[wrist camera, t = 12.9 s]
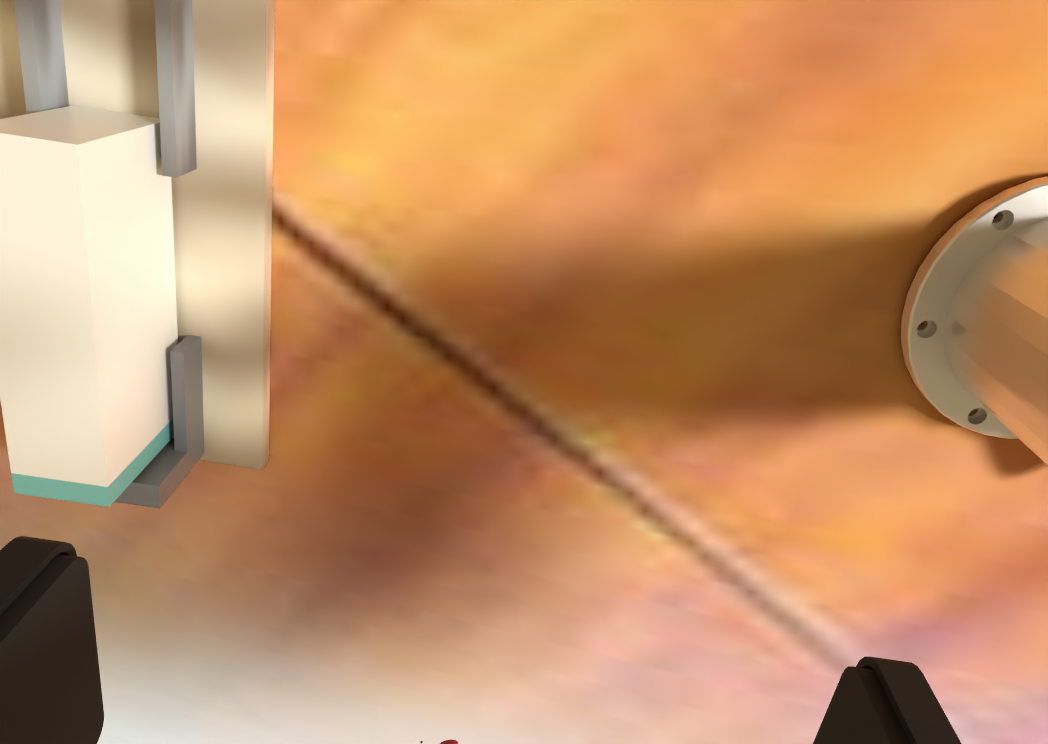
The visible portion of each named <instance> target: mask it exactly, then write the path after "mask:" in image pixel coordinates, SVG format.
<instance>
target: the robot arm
mask: <svg viewBox="0 0 1048 744" xmlns="http://www.w3.org/2000/svg"><path fill="white" fill-rule="evenodd" d="M997 213H998V216H997V218H996V219H994V220H993V218H994V216H995V215H996V214H997ZM923 321H924V322H923ZM922 322H923V324H922V325H921V326H919V327H918V325H920V324H921V323H922ZM901 344H902V350H903V355H904V360H905V364H906V366H907V369H908V371H909V373H910V375H911V377H912V380H913V382H914V384H915V385H916V386H917V387H918V389H919V390H920V391H921V393H922V394H923V395H924V396H925V398H926V399H927V400H928V401H929V402H930V403H931V404H932V405H933V406H934V407H935V408H936V409H937V410H938V411H939V412H940V413H941V414H942V415H944V416H946V417H947V418H949V419H950V420H952V421H953V422H955V423H957V424H958V425H960V426H961V427H964V428H967V429H969V430H972V431H975V432H977V433H980V434H983V435H989V436H995V437H1000V438H1006V439H1020V440H1021V441H1022V442H1023V443H1024V444H1025V445H1026V446H1027V447H1028V448H1029V449H1031V450H1032V451H1033V452H1034V453H1035V454H1036V455H1037V456H1038V457H1039V458H1040V459H1041V460H1042V461H1044V462H1045V463H1046V464H1047V465H1048V176H1046V177H1041V178H1036V179H1033V180H1030V181H1027V182H1025V183H1022V184H1019V185H1017V186H1014V187H1011V188H1009V189H1006V190H1004V191H1002V192H1000V193H999V194H997V195H995V196H993V197H992V198H990V199H988V200H986V201H984V202H983V203H981V204H979V205H978V206H976V207H975V208H974V209H973V210H971V211H970V212H969V213H967V214H966V215H965V216H964V217H962V218H961V219H960V220H959V221H957V222H956V223H955V224H954V225H953V226H952V227H951V228H950V229H949V230H948V231H947V232H946V233H945V234H944V235H943V237H942V238H941V239H940V240H939V241H938V242H937V243H936V244H935V245H934V246H933V248H932V249H931V251H930V252H929V254H928V255H927V257H926V258H925V260H924V261H923V263H922V264H921V266H920V267H919V269H918V271H917V273H916V275H915V278H914V280H913V282H912V284H911V287H910V289H909V291H908V293H907V297H906V302H905V306H904V310H903V314H902V323H901ZM103 721H104V711H103V701H102V692H101V682H100V673H99V663H98V654H97V644H96V635H95V625H94V616H93V606H92V597H91V587H90V578H89V568H88V564H87V561H86V560H85V558H82V557H77V555H76V551H75V548H74V547H73V546H72V544H70V543H66V542H59V541H52V540H45V539H38V538H31V537H24V536H21V537H17V538H14V539H13V540H12V541H10V542H9V543H8V544H7V545H6V546H5V547H4V548H2V549H1V550H0V744H97V742H98V739H99V737H100V734H101V731H102V727H103ZM813 744H961V742H960V740H959V738H958V737H957V735H956V733H955V731H954V729H953V728H952V726H951V724H950V722H949V720H948V718H947V717H946V715H945V713H944V711H943V709H942V708H941V706H940V704H939V702H938V700H937V699H936V697H935V695H934V693H933V691H932V689H931V688H930V686H929V684H928V682H927V680H926V679H925V677H924V675H923V673H922V672H921V670H920V669H919V668H918V666H916V665H915V664H913V663H910V662H903V661H896V660H889V659H882V658H875V657H864V658H862V659H861V660H860V661H859V662H858V664H857V666H856V667H847V668H846V669H845V670H844V672H843V674H842V676H841V678H840V681H839V683H838V685H837V688H836V690H835V692H834V695H833V697H832V700H831V702H830V704H829V707H828V709H827V712H826V714H825V716H824V719H823V721H822V723H821V726H820V728H819V731H818V733H817V735H816V738H815V740H814V743H813Z"/></svg>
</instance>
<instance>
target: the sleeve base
mask: <svg viewBox="0 0 1048 744" xmlns="http://www.w3.org/2000/svg"><path fill="white" fill-rule="evenodd" d="M274 18H275V0H0V119H4V118H9V117H14V116H20V115H25V114H30V113H35V112H41V111H46V110H51V109H56V108H62V107H67V106H72V105H77V106H83V107H90V108H96V109H103V110H109V111H115V112H122V113H128V114H135V115H141V116H148V117H154V118H160V138H161V160H162V176H169V177H171V183H172V207H173V232H174V257H175V281H176V306H177V331H178V344H179V343H180V342H181V341H182V340H183V339H185V338H186V337H187V336H188V335H193V336H200V337H201V345H202V381H203V418H204V454H203V455H202V456H201V458H200V459H199V460H201V461H207V462H214V463H221V464H228V465H235V466H242V467H249V468H256V469H263V468H264V467H265V465H266V463H267V462H268V460H269V421H270V340H271V260H272V179H273V98H274Z"/></svg>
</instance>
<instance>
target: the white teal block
mask: <svg viewBox="0 0 1048 744" xmlns="http://www.w3.org/2000/svg"><path fill="white" fill-rule="evenodd" d="M177 345H178V331H177V306H176V281H175V257H174V232H173V207H172V183H171V177H169V176H162V160H161V138H160V118H154V117H148V116H141V115H135V114H128V113H122V112H115V111H109V110H103V109H96V108H90V107H83V106H77V105H72V106H67V107H62V108H56V109H51V110H46V111H41V112H35V113H30V114H25V115H20V116H14V117H9V118H4V119H0V401H1V408H2V414H3V421H4V428H5V435H6V442H7V448H8V455H9V462H10V469H11V476H12V482H13V489H14V493H16V494H23V495H30V496H37V497H44V498H51V499H58V500H65V501H72V502H78V503H85V504H92V505H99V506H106V507H110V506H111V505H112V503H113V502H114V501H115V500H116V499H117V498H118V497H119V496H120V495H121V494H122V492H123V491H124V490H125V489H126V488H127V487H128V486H129V485H130V484H131V483H132V482H133V480H134V479H135V478H136V477H137V476H138V475H139V474H140V473H141V472H142V471H143V469H144V468H145V467H146V466H147V465H148V464H149V463H150V462H151V461H152V460H153V458H154V457H155V456H156V455H157V454H158V453H159V452H160V451H161V450H162V449H163V447H164V446H165V445H166V444H167V443H168V442H169V441H170V440H171V439H172V438H173V436H174V425H173V403H172V381H171V359H170V351H171V350H172V349H173V348H174V347H175V346H177Z"/></svg>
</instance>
